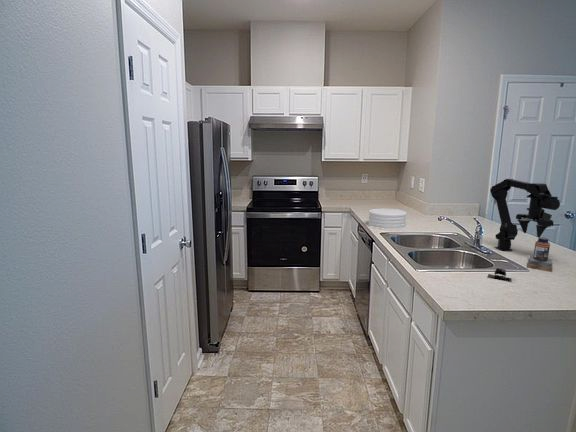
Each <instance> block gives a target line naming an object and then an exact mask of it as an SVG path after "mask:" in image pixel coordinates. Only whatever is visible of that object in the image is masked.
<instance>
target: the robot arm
mask: <svg viewBox="0 0 576 432" xmlns="http://www.w3.org/2000/svg"><path fill="white" fill-rule="evenodd" d="M511 188H516V189H520V190H524V191H526V192H527V193H528V195H526V197H527V199H528V198H529V199H530V201H529V206H528V208H526V211H528V213H518V214H515V219H516V220H517V222H518V223H519V225H520V228H521V229H522V233H523V234H527V232H528V226H529V224H530V222H534V223H536V225H535V226H536V227H535V228H536V236H537V238H539V237H542V234H543V233H544V232H545V230H546V229H548V228H550V227H552V226H554V220H553V219H552V216H553V215H552V214H550V213H547V212H545V209H547V210H552V211H556V210H559V208H560V205H561V202H560V200H559V199H558V196H552V193H551V192H550V190H549V187H548V185H547V184H546V183H543V182H541V183H540V182H537V183H536V182H527V181H522V180H517V179H514V178H505V179H504V180H502V181H500V182H498V183H496V184H495V185H492V186H491V188H490V195H491V197H492V198H493V200H495V201H496V205H497V211H498V214H499V219H500V226H499V232H498V233H496V234H495V239H496V240H498V242H497V246H494V248H495V249H496V250H500V251H502V252H504V251H506V252H507V251H509V252H510V251H511V252H512V251H513V249H512V248H511V247H512V241H515V238H517V235H518V234H519V233H518V232H519V230H518V227H517V224H514V223H513V222H512V220H511V215H510V211H509V206H508V204H507V203H508V202H507V196H508V191H510V190H511Z"/></svg>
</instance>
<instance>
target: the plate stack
mask: <svg viewBox="0 0 576 432" xmlns="http://www.w3.org/2000/svg"><path fill="white" fill-rule="evenodd" d="M368 213H369V214H368V226H369V225H370V226H373V227H378V228H384V229H399V228H404V227H406V225H407V214H408V213H407V211H405V210H402V209H397V208H383V207H382V208H373V209H369V210H368ZM370 226H369V227H370ZM373 227H372V228H373ZM404 229H405V228H404Z"/></svg>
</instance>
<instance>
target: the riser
mask: <svg viewBox="0 0 576 432" xmlns="http://www.w3.org/2000/svg"><path fill="white" fill-rule="evenodd" d="M533 256H534V255H530V256H529V258H528V260H527V263H526V268H528V269H533V270H537V271H543V272H544V271H545V272H548V273H552V272H553V265H554V262H553V259H552V258H548V260H547V261H539V260H536V259H534V258H533Z"/></svg>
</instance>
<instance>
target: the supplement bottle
mask: <svg viewBox="0 0 576 432" xmlns="http://www.w3.org/2000/svg"><path fill="white" fill-rule="evenodd" d="M550 247H551V244H550V242H549V238H548V237H543V236H540V237H537V241H535V243H534V250H533V255H532V256H533V258H534V259H536V260H539V261H547V260H548V259H549V255H550Z"/></svg>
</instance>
